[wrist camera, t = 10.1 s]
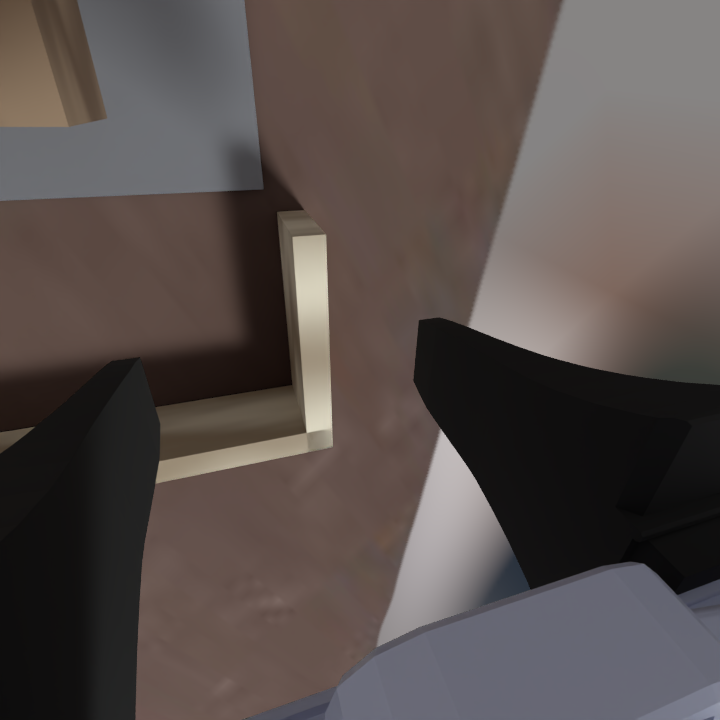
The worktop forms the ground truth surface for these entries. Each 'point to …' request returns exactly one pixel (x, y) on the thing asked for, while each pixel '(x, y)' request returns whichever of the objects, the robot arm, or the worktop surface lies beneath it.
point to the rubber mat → (150, 108)
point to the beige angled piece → (263, 407)
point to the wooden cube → (46, 66)
